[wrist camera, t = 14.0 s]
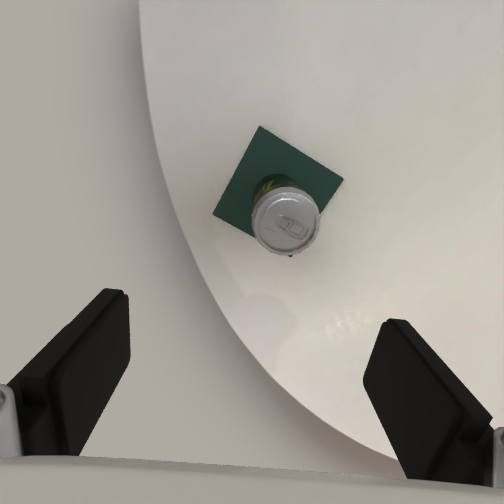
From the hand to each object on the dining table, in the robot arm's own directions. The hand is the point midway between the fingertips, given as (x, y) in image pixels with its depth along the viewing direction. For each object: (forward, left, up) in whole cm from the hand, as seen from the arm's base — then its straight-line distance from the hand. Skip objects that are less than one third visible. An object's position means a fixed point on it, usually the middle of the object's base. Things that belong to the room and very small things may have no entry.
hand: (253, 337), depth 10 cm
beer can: (+2, +2, -24) cm, 24 cm away
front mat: (+2, +2, -24) cm, 25 cm away
